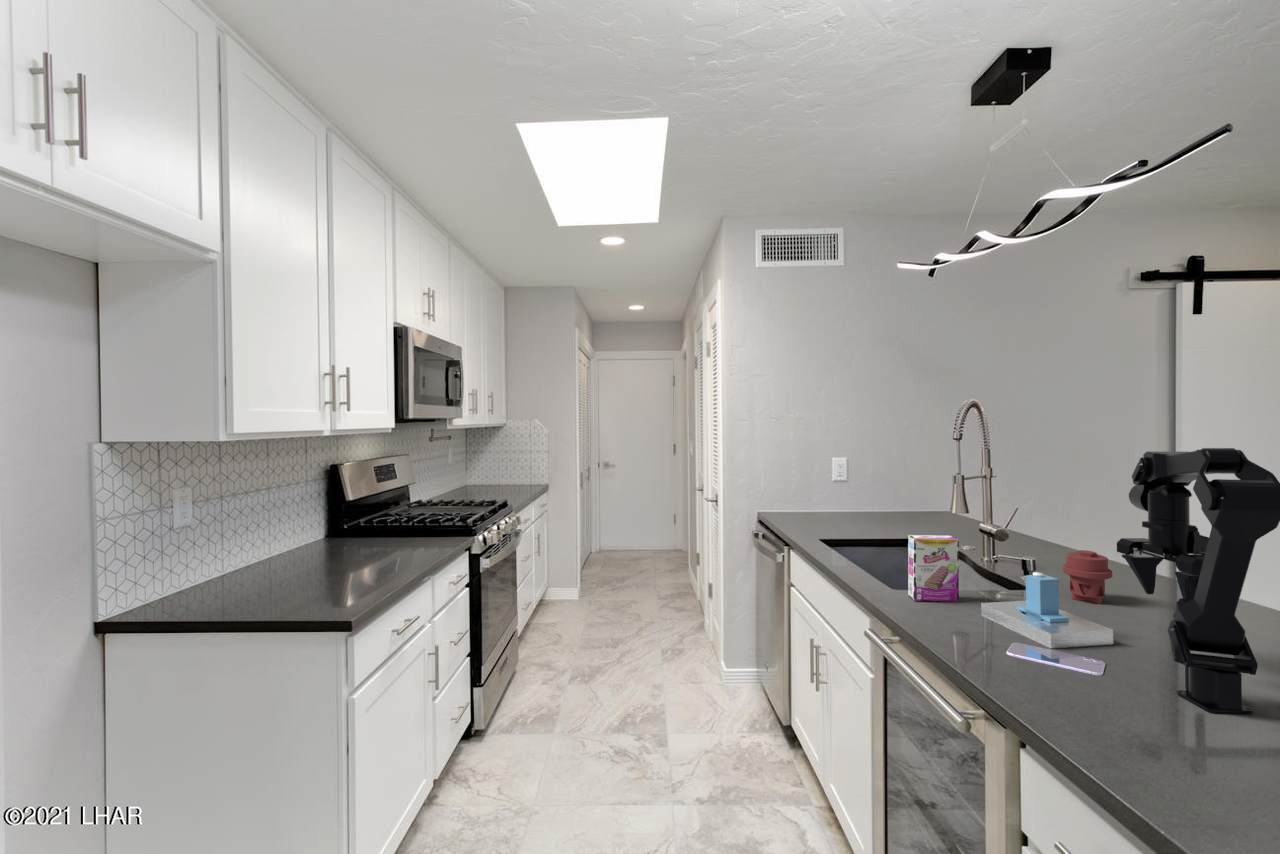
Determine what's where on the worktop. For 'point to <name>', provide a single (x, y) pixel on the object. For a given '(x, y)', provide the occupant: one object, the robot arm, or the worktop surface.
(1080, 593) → the mechanical component
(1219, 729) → the worktop surface
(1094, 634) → the plate
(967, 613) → the worktop surface
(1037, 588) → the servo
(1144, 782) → the worktop surface
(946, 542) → the candy bar box
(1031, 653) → the mobile phone
